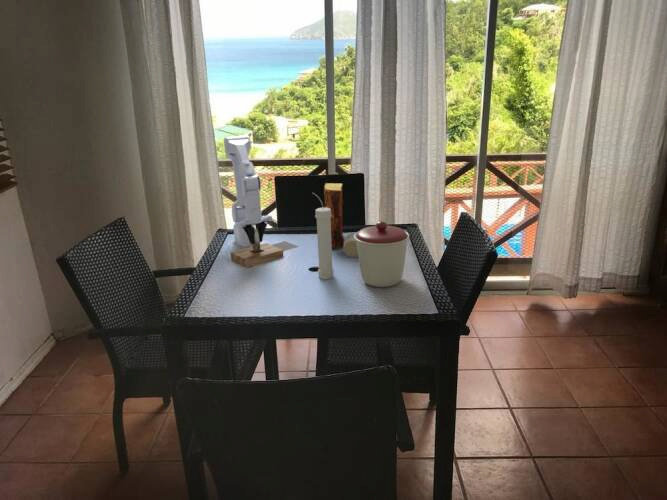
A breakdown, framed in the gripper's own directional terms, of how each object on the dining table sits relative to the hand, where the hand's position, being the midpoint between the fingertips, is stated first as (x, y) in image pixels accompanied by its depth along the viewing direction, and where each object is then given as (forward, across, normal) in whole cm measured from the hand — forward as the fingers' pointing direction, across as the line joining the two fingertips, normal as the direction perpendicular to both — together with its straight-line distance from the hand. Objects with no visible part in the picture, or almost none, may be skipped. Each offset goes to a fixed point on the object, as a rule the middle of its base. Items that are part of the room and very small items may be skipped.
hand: (256, 242), depth 211 cm
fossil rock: (+7, +33, -7) cm, 34 cm away
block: (+6, 0, 0) cm, 6 cm away
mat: (+6, +14, +4) cm, 16 cm away
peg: (+2, 0, 0) cm, 2 cm away
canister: (+7, +18, -50) cm, 54 cm away
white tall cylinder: (+7, +7, -33) cm, 34 cm away
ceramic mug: (+7, +30, -24) cm, 39 cm away
